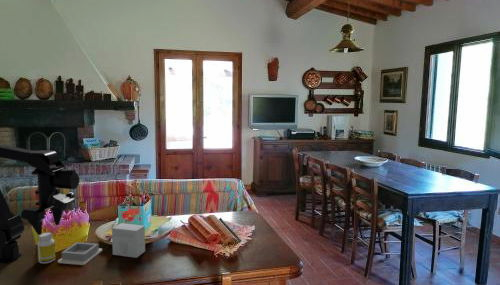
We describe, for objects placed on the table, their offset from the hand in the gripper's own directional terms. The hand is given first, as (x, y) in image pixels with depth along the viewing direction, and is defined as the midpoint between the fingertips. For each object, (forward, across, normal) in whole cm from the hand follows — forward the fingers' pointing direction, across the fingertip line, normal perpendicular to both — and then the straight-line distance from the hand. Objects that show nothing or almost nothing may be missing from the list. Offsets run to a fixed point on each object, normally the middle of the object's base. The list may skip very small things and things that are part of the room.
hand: (48, 229), depth 128 cm
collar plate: (+12, +5, -9) cm, 15 cm away
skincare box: (+11, +11, -25) cm, 29 cm away
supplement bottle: (+12, 0, +1) cm, 12 cm away
